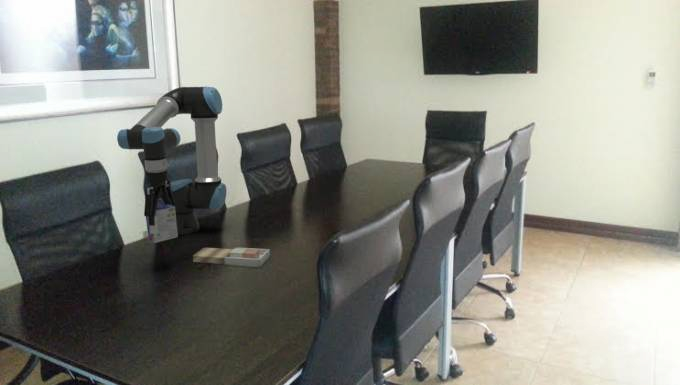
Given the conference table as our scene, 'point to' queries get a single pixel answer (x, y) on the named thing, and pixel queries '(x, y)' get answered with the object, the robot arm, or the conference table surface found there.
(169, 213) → the ink cartridge box
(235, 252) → the tile
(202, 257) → the board
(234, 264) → the tray
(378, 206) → the conference table surface
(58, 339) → the conference table surface
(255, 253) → the tile
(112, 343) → the conference table surface
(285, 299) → the conference table surface
